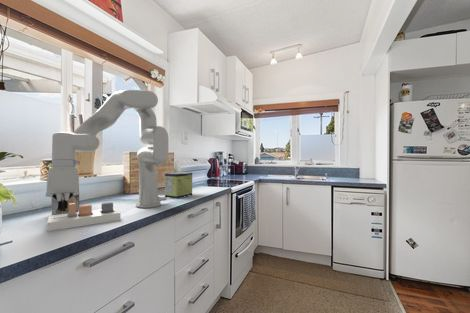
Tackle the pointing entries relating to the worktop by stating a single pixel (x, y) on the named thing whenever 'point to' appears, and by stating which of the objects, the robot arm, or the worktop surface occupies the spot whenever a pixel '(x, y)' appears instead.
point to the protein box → (178, 184)
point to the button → (107, 207)
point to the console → (81, 219)
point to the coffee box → (72, 200)
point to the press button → (85, 210)
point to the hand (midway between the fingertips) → (62, 210)
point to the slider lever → (72, 210)
